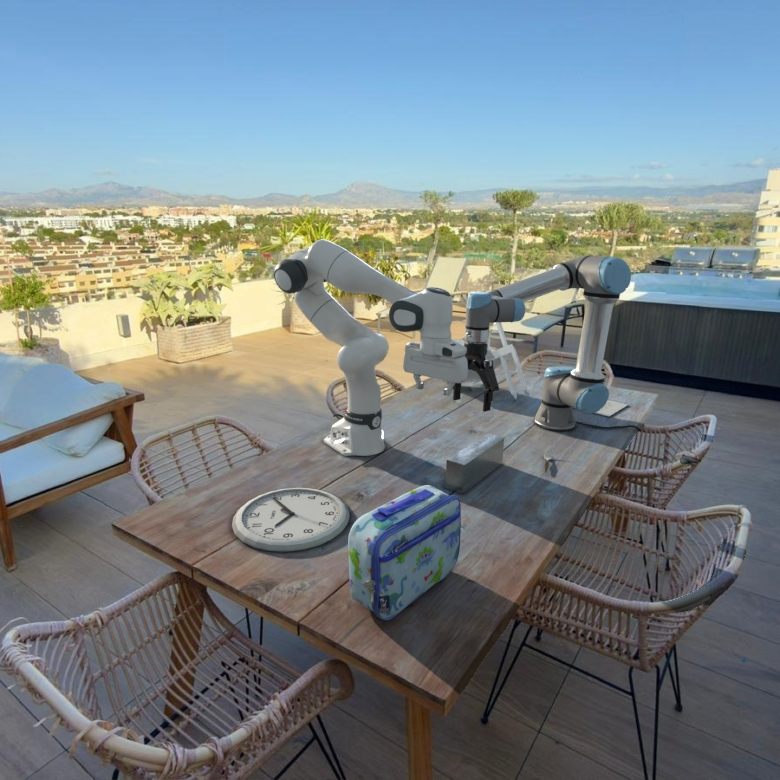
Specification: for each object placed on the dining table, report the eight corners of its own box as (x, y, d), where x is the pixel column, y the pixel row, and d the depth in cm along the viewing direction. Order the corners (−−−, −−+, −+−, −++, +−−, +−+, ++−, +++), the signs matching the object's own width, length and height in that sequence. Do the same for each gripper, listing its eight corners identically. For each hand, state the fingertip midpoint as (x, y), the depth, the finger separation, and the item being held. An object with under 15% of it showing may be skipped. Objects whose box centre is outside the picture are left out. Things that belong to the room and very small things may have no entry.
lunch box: (378, 635, 98) (379, 537, 91) (341, 606, 105) (340, 513, 99) (464, 574, 115) (470, 488, 109) (427, 553, 122) (431, 471, 116)
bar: (485, 458, 173) (487, 433, 171) (502, 463, 170) (504, 437, 167) (445, 488, 153) (446, 459, 151) (462, 494, 150) (464, 465, 147)
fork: (540, 473, 163) (541, 467, 163) (544, 453, 178) (545, 448, 177) (549, 474, 162) (550, 468, 162) (552, 454, 177) (553, 449, 176)
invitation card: (608, 416, 214) (573, 407, 224) (608, 416, 214) (573, 408, 224) (628, 404, 229) (594, 396, 238) (628, 405, 229) (594, 397, 238)
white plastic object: (461, 429, 252) (437, 405, 227) (444, 352, 274) (420, 323, 250) (535, 404, 240) (518, 377, 215) (510, 326, 262) (492, 293, 237)
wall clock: (350, 543, 123) (219, 547, 120) (350, 549, 123) (220, 553, 121) (349, 483, 151) (243, 486, 149) (349, 488, 152) (243, 491, 149)
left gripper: (399, 342, 153) (398, 387, 157) (460, 352, 141) (457, 401, 145) (411, 338, 158) (410, 382, 162) (471, 349, 146) (468, 396, 150)
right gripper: (440, 336, 173) (437, 396, 179) (497, 350, 154) (491, 418, 161) (456, 333, 178) (453, 393, 184) (514, 347, 159) (508, 413, 165)
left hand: (433, 391), depth 153 cm, fingers open, 8 cm apart
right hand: (471, 405), depth 172 cm, fingers open, 13 cm apart
